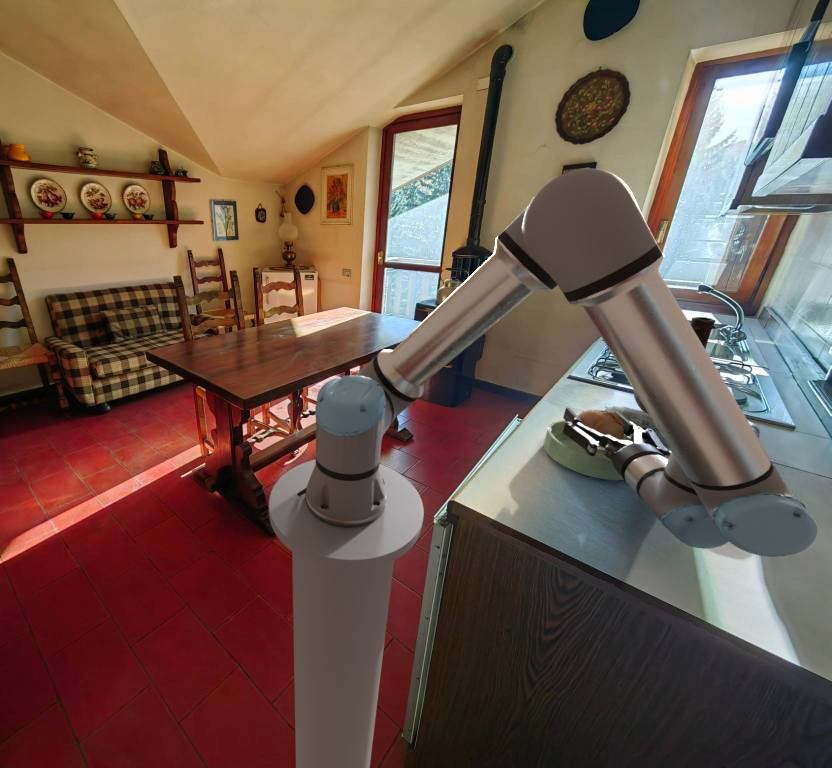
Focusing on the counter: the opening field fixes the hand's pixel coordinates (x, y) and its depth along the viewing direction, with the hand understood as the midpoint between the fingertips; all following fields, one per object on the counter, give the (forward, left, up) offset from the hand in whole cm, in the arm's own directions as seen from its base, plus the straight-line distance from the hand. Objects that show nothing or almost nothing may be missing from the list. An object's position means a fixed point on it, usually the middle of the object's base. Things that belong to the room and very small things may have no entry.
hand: (590, 414), depth 89 cm
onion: (-1, -4, -6) cm, 8 cm away
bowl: (-1, -4, -9) cm, 10 cm away
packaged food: (+21, +9, -9) cm, 24 cm away
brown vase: (+37, +13, -9) cm, 40 cm away
